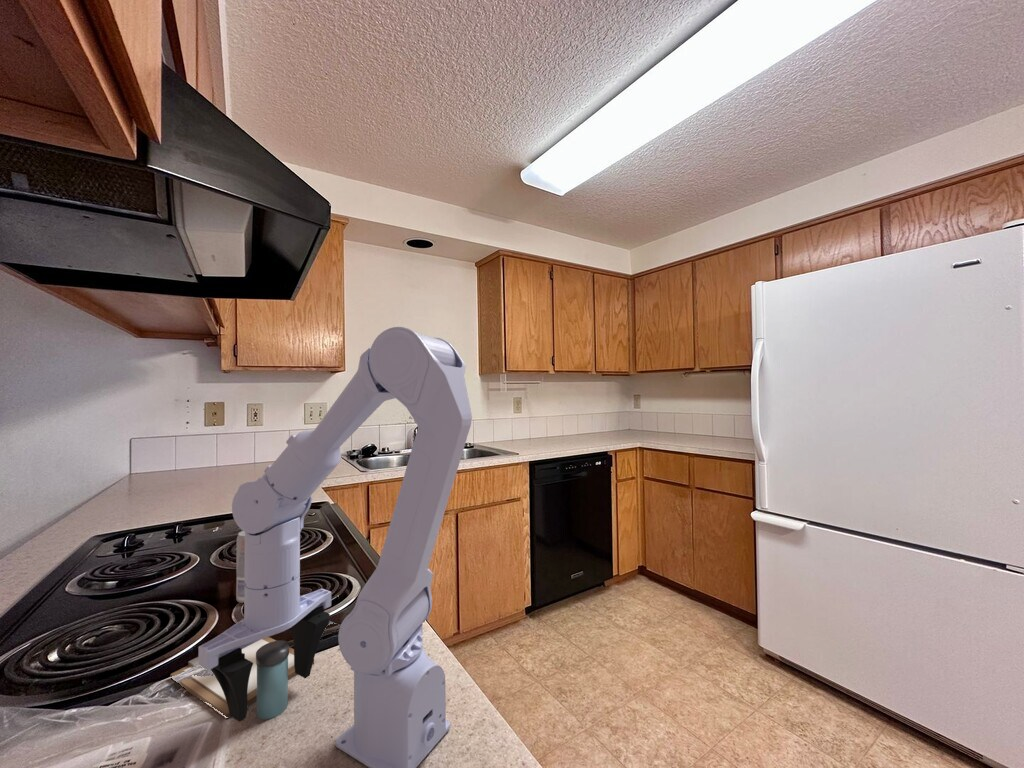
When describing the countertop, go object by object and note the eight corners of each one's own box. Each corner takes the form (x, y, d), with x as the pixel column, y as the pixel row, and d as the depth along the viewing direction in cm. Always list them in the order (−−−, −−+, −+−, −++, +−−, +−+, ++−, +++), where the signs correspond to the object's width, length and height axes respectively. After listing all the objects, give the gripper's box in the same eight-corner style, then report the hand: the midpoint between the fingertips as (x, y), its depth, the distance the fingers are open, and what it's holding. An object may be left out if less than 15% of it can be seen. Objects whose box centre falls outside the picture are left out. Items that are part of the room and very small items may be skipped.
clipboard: (314, 663, 56) (314, 655, 56) (226, 719, 47) (226, 709, 47) (256, 635, 63) (256, 627, 63) (170, 678, 54) (170, 670, 54)
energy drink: (264, 587, 79) (264, 524, 79) (275, 595, 76) (275, 530, 76) (231, 598, 75) (232, 532, 75) (242, 607, 71) (242, 538, 72)
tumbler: (294, 704, 49) (295, 645, 49) (266, 724, 46) (266, 661, 46) (278, 694, 51) (278, 637, 51) (249, 713, 48) (249, 652, 48)
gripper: (308, 551, 57) (307, 649, 57) (184, 597, 44) (183, 724, 44) (341, 561, 53) (341, 666, 53) (218, 613, 41) (217, 751, 41)
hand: (272, 694), depth 48 cm, fingers open, 7 cm apart
